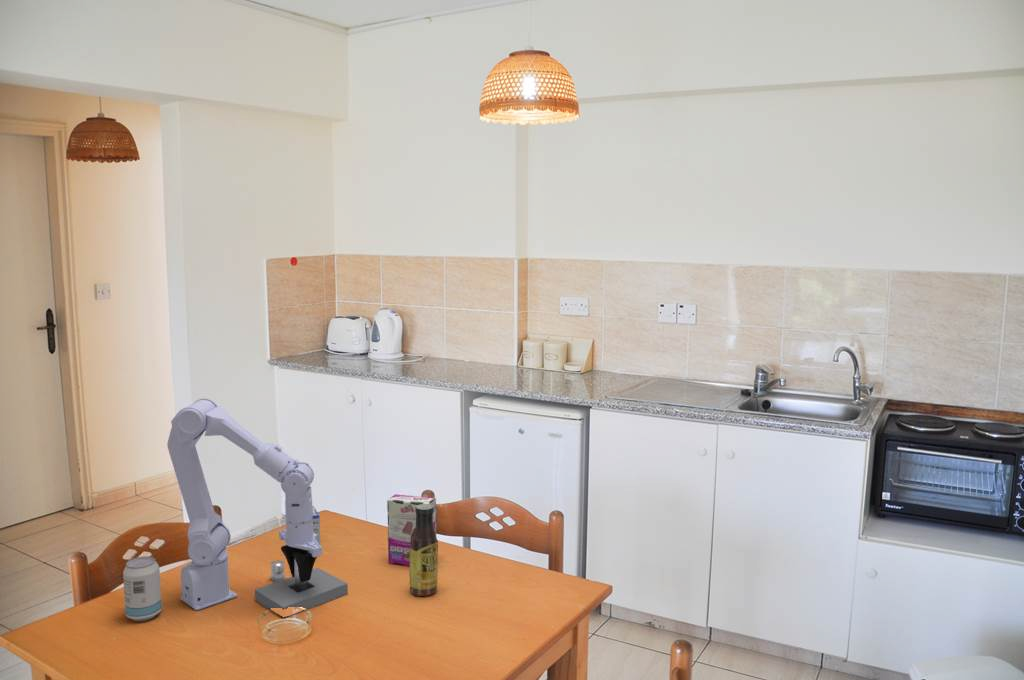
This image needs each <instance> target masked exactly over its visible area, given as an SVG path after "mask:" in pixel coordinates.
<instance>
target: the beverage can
mask: <svg viewBox="0 0 1024 680" xmlns="http://www.w3.org/2000/svg"><path fill="white" fill-rule="evenodd" d="M125 564H126V565H125V567H124V570H123V571H122V577H123V590H124V591H123V592H124V595H123V596H124V607H125V609H124V610H125V616H126V618H128V619H131V620H132V621H134V622H145V621H149V620H152V619H153V618H155V617H156V616H157V615H158V614H159V613H160V612H161V611H162V609H163V605H162V589H161V573H160V571H161V570H160V565H159V564H158V562H157V561H156V558H155V557H153V556H147V555H145V556H139V557H134V558H131V559H130V560H128V561H127V562H126V563H125Z"/></svg>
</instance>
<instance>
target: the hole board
mask: <svg viewBox="0 0 1024 680" xmlns="http://www.w3.org/2000/svg"><path fill="white" fill-rule="evenodd" d="M348 586H349V585H348V582H345V581H344V580H342V579H341V578H338V577H336V576H334V575H333V574H330V573H329V572H327V571H325V570H323V569H322V568H319V567H316V568H313V569H312V574H311V578H310V580H309V589H307V590H304V591H302V592H299V593H298V592H296V591H295V577H292V576H289V577H287V578H285V579H283V580H281V581H278V582H271V583H270V584H266V585H263V586H261V587H260V586H259V587H258V588H255V589H254V600H255V601H256V602H258V604H260V605H262V606H263V607H265V608H267V609H268V610H270V609H271V608H282V609H283V610H284V609H287V608H288V607H303V608H306V609H308V610H310V609H313V608H315V607H317V606H321V605H323V604H325V603H326V604H327V603H328V602H331V601H333V600H336V599H339V598H342V597H344V596H346V595H348V593H349V591H348V588H349V587H348Z"/></svg>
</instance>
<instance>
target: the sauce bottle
mask: <svg viewBox="0 0 1024 680" xmlns="http://www.w3.org/2000/svg"><path fill="white" fill-rule="evenodd" d="M415 512H416V527H415V529H414V531H413V532H412V534H411V546H410V566H409V586H410V588H409V591H410V593H411V594H413V595H414V596H416V597H417V596H418V597H425V596H427V597H428V596H431V595H433V594H434V593H435V592H436V591H437V588H438V573H439V572H438V567H439V566H438V565H439V562H438V561H439V559H438V558H439V553H438V552H439V540H438V538H437V534H436V535H435V531H434V527H433V512H434V507H433V506H432V505H430V504H420V505H417V506H416V508H415Z"/></svg>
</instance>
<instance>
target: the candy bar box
mask: <svg viewBox="0 0 1024 680" xmlns="http://www.w3.org/2000/svg"><path fill="white" fill-rule="evenodd" d="M386 503H387V504H386V508H387V511H386V512H387V543H388V544H387V545H388V547H387V548H388V549H387V551H388V557H387V559H388V564H389V563H390V565H396V564H398V565H397V566H403V565H405V566H406V567H410V546H411V534H412V532H413V531H414V529H415V527H416V512H415V508H416V506H417V505H420V504H430V505H432V506H433V507H434V512H433V527H434V531H435V535H436V536H437V498H436V497H428V496H426V497H425V496H416V495H406V494H397V493H396V494H393V496H391V497H390V498H388V499H387V502H386Z"/></svg>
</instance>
